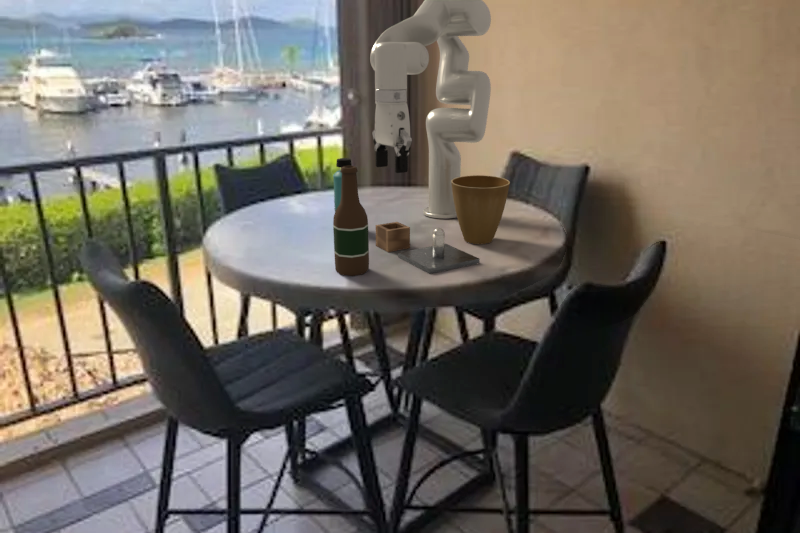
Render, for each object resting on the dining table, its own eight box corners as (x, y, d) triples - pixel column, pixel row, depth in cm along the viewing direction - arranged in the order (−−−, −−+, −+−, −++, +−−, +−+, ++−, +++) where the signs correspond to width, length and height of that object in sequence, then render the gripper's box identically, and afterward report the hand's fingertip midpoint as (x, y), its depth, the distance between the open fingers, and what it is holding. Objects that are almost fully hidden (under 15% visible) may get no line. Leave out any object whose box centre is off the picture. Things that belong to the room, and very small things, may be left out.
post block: (445, 248, 160) (446, 217, 157) (479, 263, 148) (480, 230, 146) (398, 257, 153) (398, 225, 150) (429, 273, 142) (429, 240, 139)
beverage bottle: (354, 233, 173) (352, 160, 166) (331, 232, 174) (328, 160, 168) (361, 227, 179) (359, 156, 172) (338, 225, 180) (335, 156, 174)
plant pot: (440, 236, 169) (441, 178, 164) (488, 230, 175) (490, 173, 170) (467, 252, 156) (469, 189, 151) (517, 244, 162) (521, 183, 157)
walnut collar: (397, 241, 165) (397, 221, 163) (410, 248, 160) (409, 227, 158) (375, 245, 162) (375, 225, 160) (388, 252, 157) (387, 231, 155)
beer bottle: (335, 265, 147) (331, 163, 139) (368, 264, 148) (366, 163, 140) (334, 277, 140) (330, 170, 132) (369, 276, 141) (367, 169, 133)
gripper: (423, 98, 143) (423, 173, 149) (387, 95, 158) (387, 163, 163) (395, 100, 140) (395, 176, 145) (360, 96, 154) (361, 165, 159)
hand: (391, 169), depth 154 cm, fingers open, 9 cm apart
